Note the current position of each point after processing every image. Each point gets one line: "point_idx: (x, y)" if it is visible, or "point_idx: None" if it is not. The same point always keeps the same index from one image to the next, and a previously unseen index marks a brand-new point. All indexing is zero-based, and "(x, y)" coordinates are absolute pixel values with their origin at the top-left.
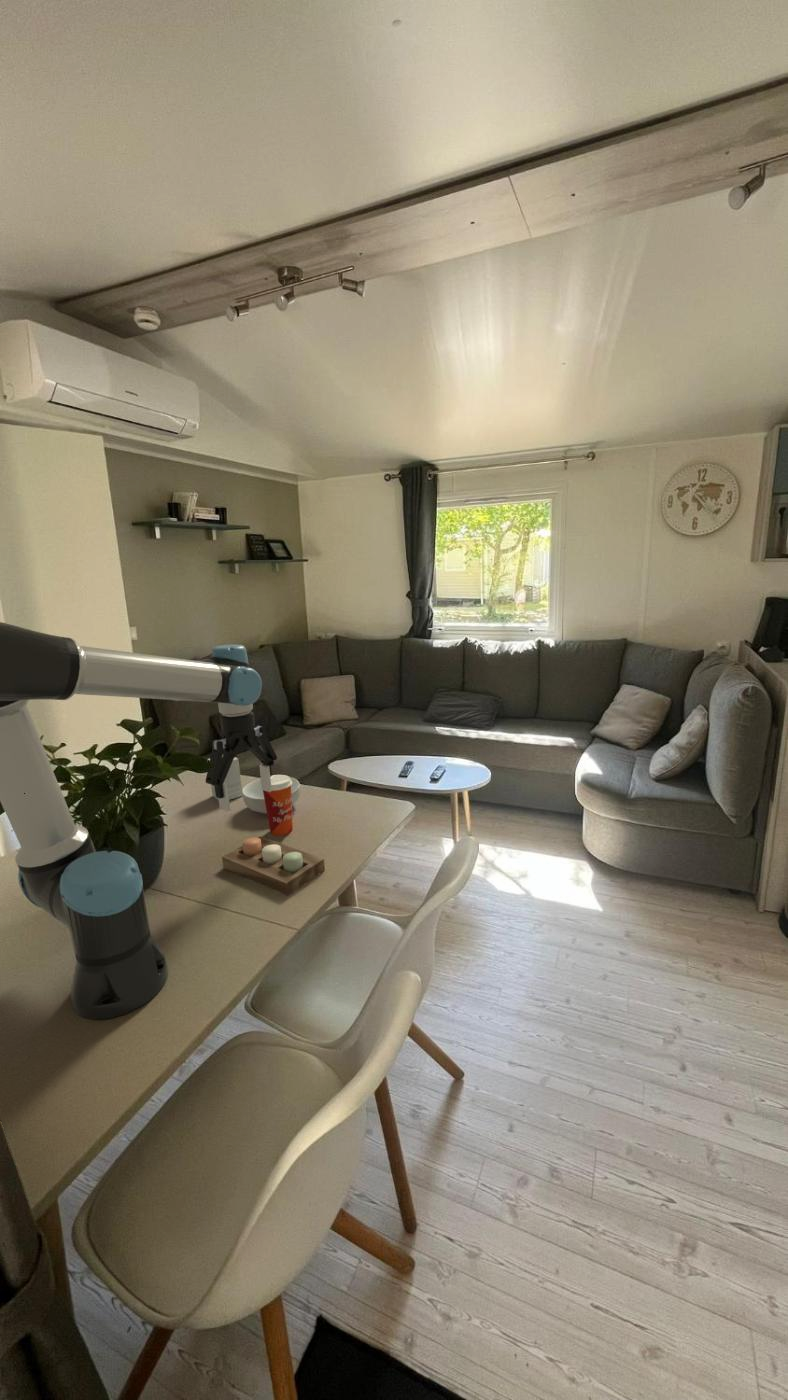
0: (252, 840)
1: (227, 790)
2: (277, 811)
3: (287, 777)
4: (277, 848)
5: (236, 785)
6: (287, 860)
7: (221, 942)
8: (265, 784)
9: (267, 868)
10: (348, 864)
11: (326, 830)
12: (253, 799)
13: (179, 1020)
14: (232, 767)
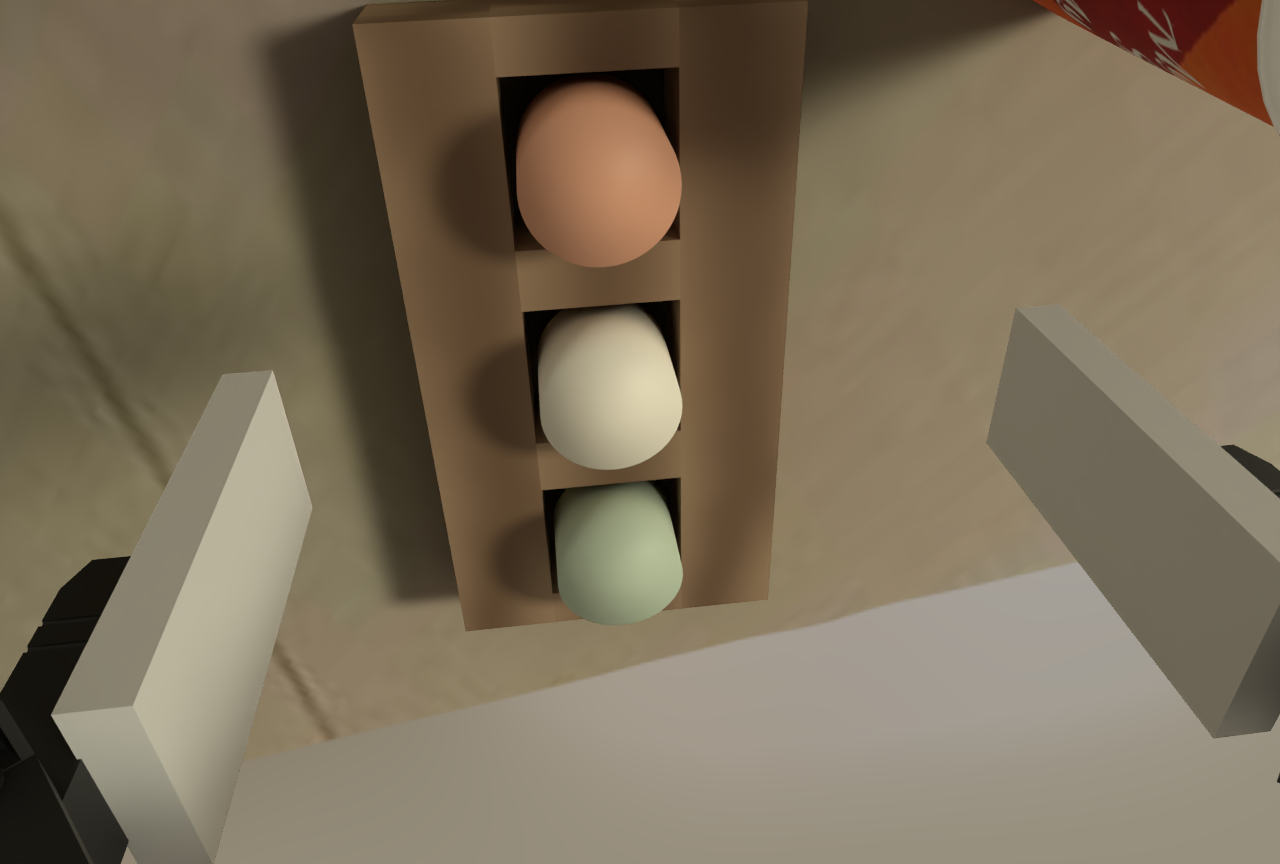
0: (619, 179)
1: (242, 744)
2: (1119, 26)
3: None
4: (642, 439)
5: None
6: (570, 590)
7: (20, 630)
8: (1045, 445)
9: (494, 451)
10: (856, 590)
11: (1187, 223)
12: None
13: None
14: None
